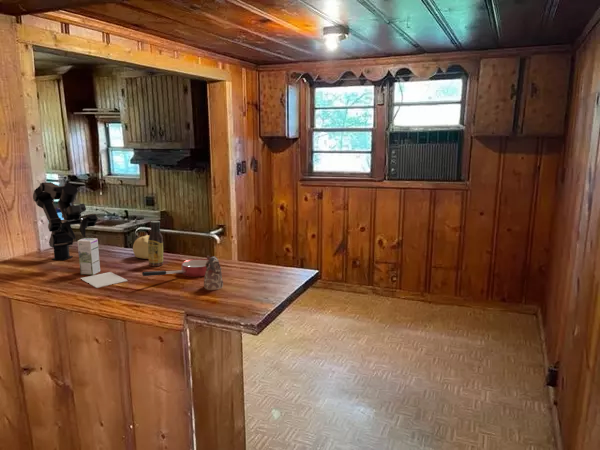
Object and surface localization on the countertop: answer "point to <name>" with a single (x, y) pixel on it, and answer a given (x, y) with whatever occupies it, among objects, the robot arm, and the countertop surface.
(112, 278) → the mat
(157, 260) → the sauce bottle
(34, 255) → the countertop surface
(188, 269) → the frying pan
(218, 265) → the figurine
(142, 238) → the tan rounded lump
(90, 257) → the syrup box
